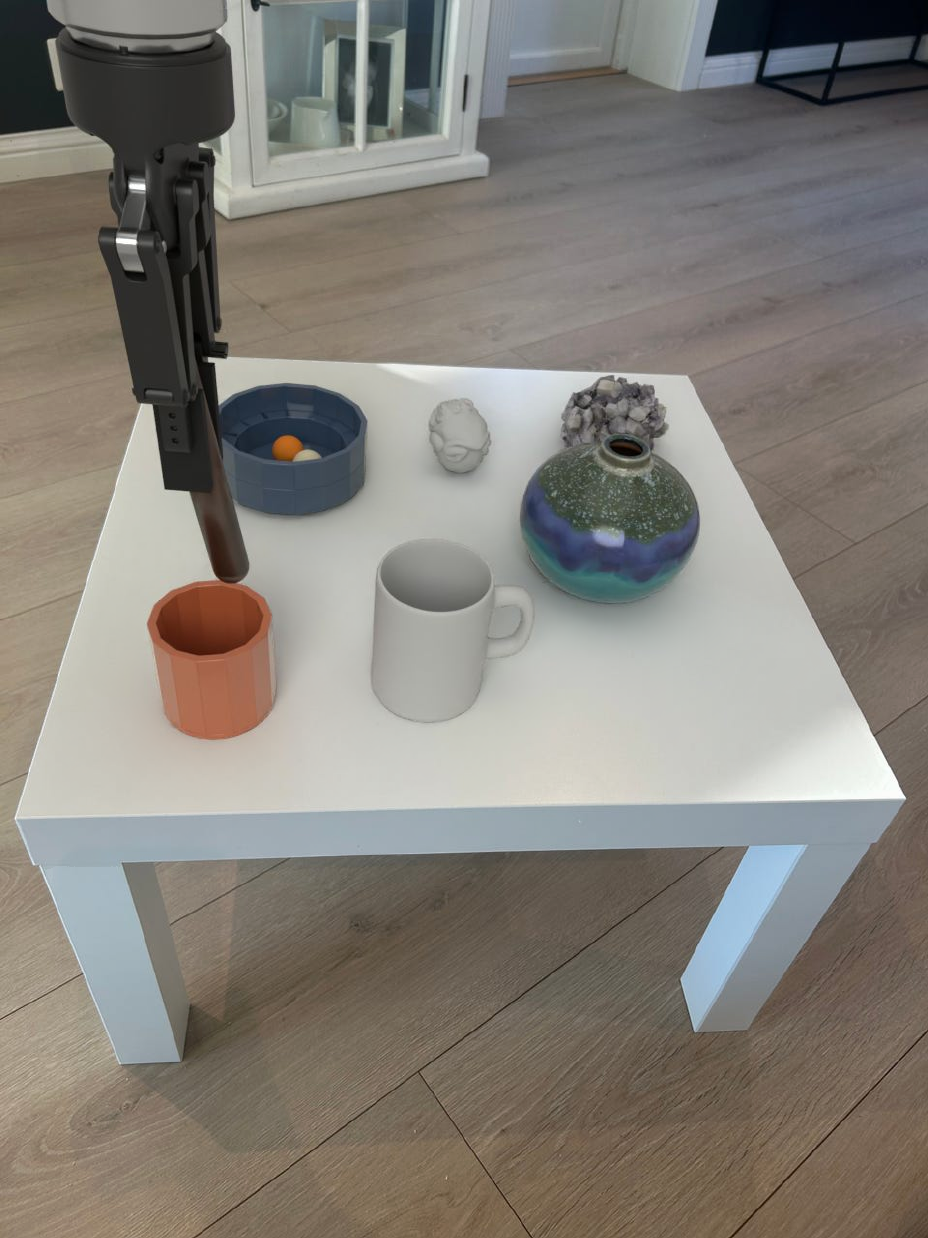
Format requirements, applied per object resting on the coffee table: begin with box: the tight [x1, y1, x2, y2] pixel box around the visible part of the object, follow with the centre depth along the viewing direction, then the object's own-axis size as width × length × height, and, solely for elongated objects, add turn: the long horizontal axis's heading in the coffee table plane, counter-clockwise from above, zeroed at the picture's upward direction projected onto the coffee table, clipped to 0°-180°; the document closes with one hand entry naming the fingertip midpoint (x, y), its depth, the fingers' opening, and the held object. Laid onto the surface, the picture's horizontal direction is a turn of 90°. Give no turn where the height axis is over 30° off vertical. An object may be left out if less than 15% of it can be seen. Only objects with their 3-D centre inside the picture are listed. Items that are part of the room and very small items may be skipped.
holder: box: [146, 579, 277, 740], centre depth 69 cm, size 8×8×8 cm
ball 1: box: [272, 435, 304, 462], centre depth 93 cm, size 3×3×3 cm
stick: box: [189, 359, 251, 584], centre depth 58 cm, size 2×2×18 cm
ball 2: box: [293, 450, 322, 462], centre depth 92 cm, size 3×3×3 cm
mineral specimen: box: [559, 374, 670, 452], centre depth 100 cm, size 12×9×10 cm
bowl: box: [219, 382, 369, 516], centre depth 92 cm, size 14×14×6 cm
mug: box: [370, 538, 535, 723], centre depth 72 cm, size 12×8×11 cm
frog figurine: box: [428, 397, 492, 474], centre depth 95 cm, size 6×7×7 cm
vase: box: [519, 434, 701, 604], centre depth 83 cm, size 15×15×13 cm
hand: (194, 472), depth 58 cm, fingers closed on stick, 2 cm apart
